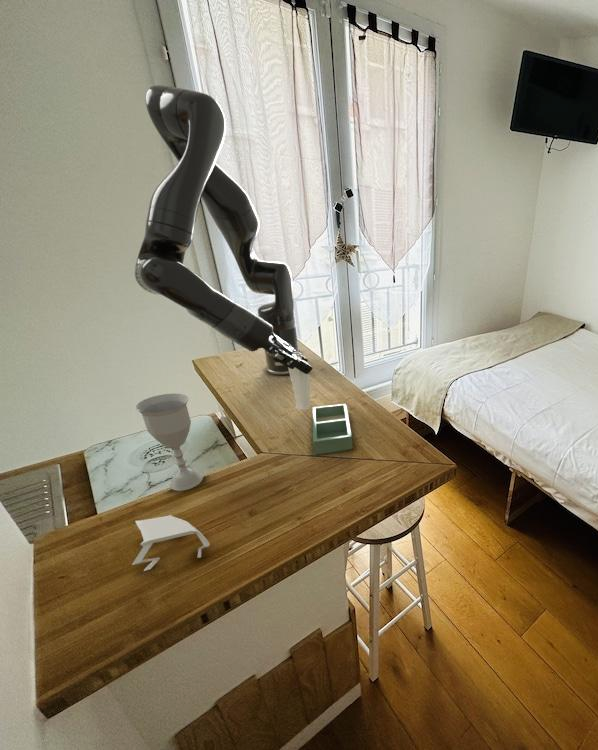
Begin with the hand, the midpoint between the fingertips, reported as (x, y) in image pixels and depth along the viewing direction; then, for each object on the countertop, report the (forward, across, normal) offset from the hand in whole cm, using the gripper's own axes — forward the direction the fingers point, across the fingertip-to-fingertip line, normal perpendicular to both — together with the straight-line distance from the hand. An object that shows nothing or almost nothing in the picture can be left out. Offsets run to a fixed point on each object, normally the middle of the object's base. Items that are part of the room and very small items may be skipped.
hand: (307, 366), depth 99 cm
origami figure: (-11, -35, +29) cm, 47 cm away
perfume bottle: (+7, 0, +9) cm, 11 cm away
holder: (+10, -13, +8) cm, 18 cm away
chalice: (-10, -17, +28) cm, 34 cm away
